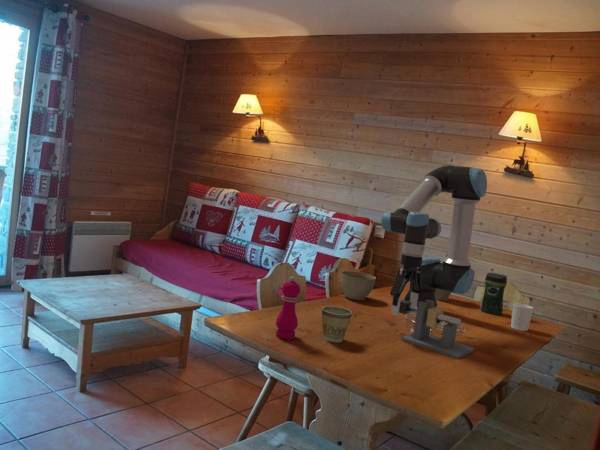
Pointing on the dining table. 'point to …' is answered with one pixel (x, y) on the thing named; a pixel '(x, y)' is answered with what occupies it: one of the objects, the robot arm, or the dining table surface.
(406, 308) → the shaft
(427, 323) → the spacer
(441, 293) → the plant pot
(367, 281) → the planter bowl
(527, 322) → the white cup
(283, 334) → the pepper mill
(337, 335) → the ceramic cup
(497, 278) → the coffee jar
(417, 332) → the shaft stand
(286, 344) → the dining table surface
